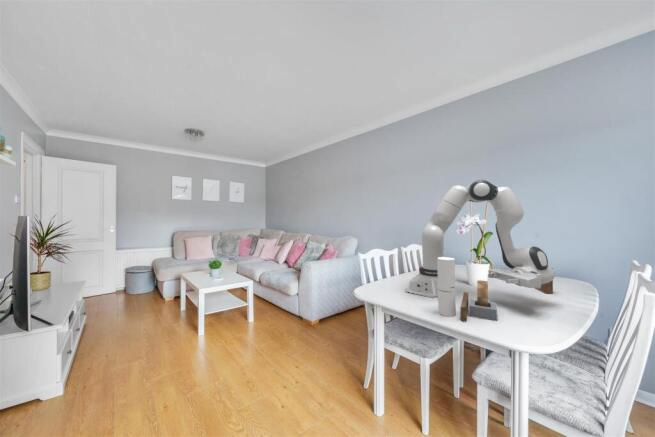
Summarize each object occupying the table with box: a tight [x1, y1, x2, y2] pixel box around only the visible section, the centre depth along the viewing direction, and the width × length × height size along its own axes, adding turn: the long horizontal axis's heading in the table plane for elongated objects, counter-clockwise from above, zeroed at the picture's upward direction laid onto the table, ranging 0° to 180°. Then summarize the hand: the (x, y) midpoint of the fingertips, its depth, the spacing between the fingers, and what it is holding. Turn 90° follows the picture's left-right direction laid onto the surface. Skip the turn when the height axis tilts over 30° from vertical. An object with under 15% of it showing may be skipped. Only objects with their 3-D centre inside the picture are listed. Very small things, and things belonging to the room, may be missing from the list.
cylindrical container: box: [437, 256, 457, 317], centre depth 112 cm, size 7×7×25 cm
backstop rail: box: [460, 291, 470, 322], centre depth 113 cm, size 2×22×6 cm, turn 148°
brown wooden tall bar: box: [476, 280, 489, 307], centre depth 110 cm, size 4×4×14 cm
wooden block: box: [535, 267, 554, 295], centre depth 140 cm, size 4×11×18 cm, turn 167°
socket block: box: [468, 298, 498, 322], centre depth 110 cm, size 10×10×5 cm
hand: (497, 278), depth 114 cm, fingers open, 8 cm apart
